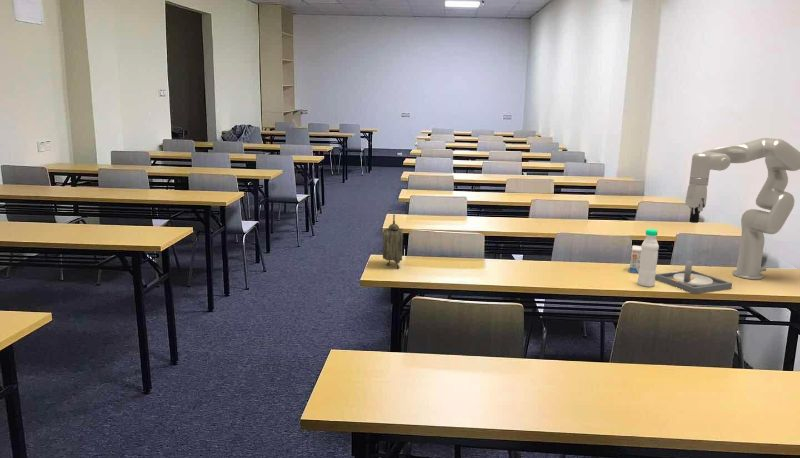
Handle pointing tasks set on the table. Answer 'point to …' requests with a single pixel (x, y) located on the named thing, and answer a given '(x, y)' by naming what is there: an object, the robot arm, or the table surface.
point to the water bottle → (648, 259)
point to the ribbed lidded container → (392, 243)
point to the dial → (692, 277)
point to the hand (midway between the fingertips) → (693, 222)
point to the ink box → (635, 259)
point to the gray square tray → (716, 286)
